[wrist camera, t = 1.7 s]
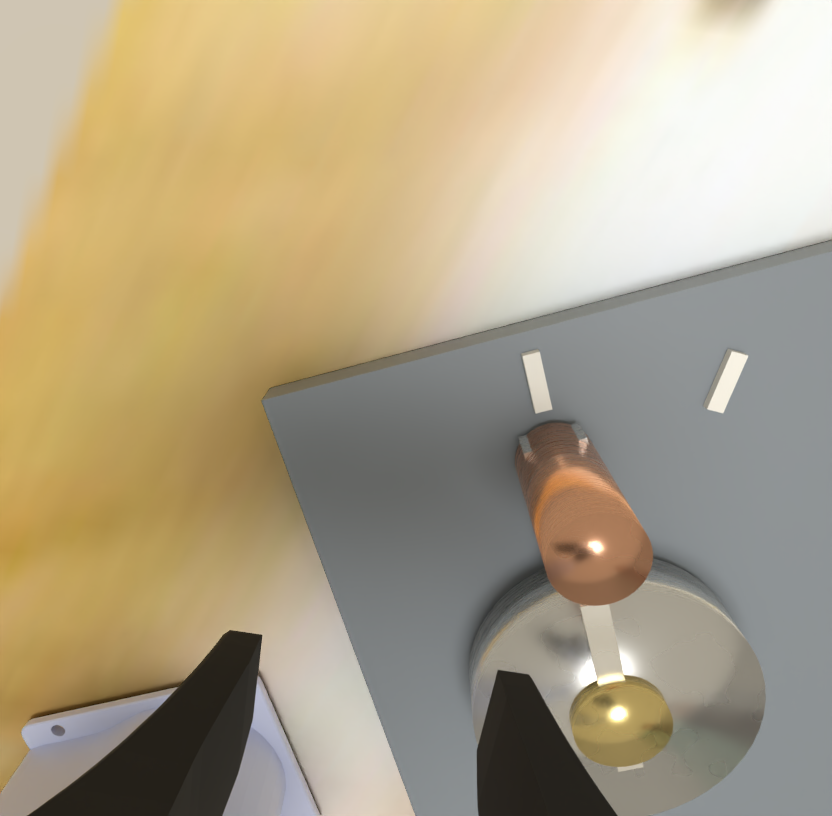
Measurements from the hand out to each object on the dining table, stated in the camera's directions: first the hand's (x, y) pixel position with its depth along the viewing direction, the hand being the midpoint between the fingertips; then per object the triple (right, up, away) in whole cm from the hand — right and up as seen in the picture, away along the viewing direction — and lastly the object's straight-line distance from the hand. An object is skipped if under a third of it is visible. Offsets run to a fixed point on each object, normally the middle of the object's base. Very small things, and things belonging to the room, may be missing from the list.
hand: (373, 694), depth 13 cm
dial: (+6, -1, +9) cm, 11 cm away
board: (+8, -2, +11) cm, 14 cm away
